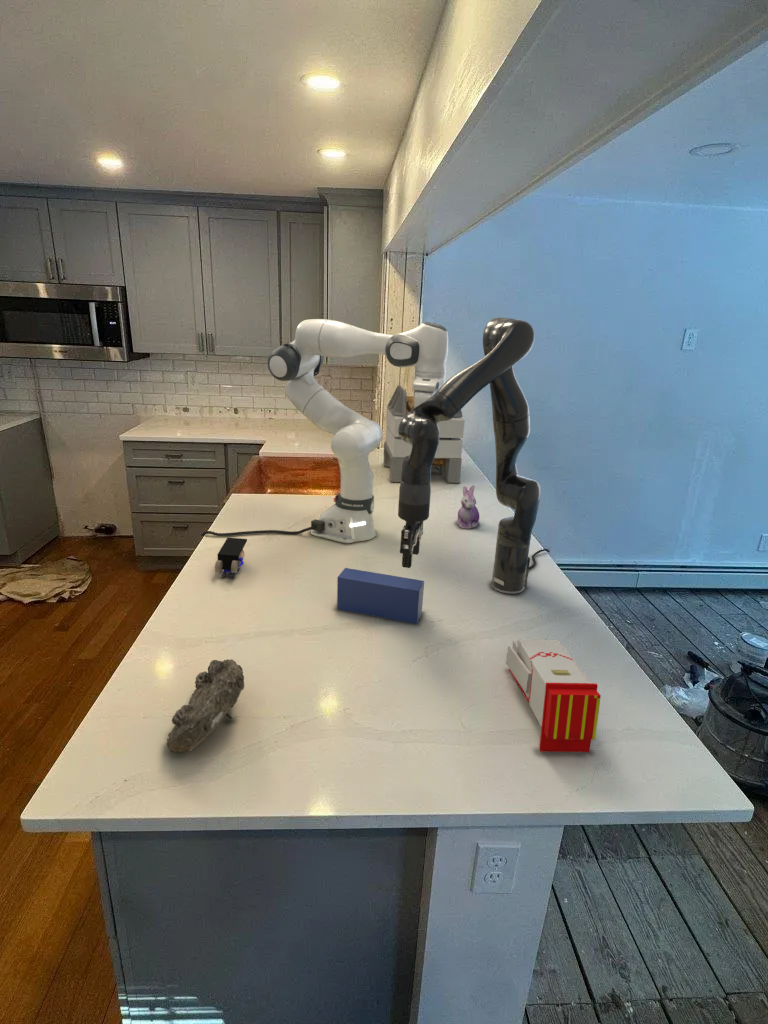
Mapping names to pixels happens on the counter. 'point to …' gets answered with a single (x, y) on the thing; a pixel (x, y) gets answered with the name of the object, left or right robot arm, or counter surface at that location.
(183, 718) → the fossil
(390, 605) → the box
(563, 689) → the toy
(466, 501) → the figurine
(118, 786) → the counter surface
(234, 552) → the figurine character
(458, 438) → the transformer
